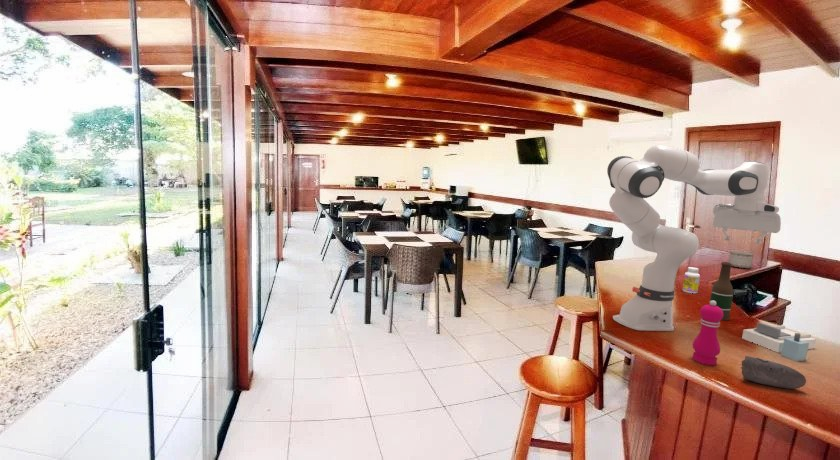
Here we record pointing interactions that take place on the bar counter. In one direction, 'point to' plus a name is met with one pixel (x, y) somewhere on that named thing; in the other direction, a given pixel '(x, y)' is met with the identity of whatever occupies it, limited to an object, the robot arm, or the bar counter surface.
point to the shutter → (770, 330)
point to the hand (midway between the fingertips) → (742, 241)
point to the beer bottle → (723, 290)
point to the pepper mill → (708, 335)
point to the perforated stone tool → (771, 373)
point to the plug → (795, 348)
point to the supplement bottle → (691, 280)
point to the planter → (740, 259)
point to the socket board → (772, 342)
